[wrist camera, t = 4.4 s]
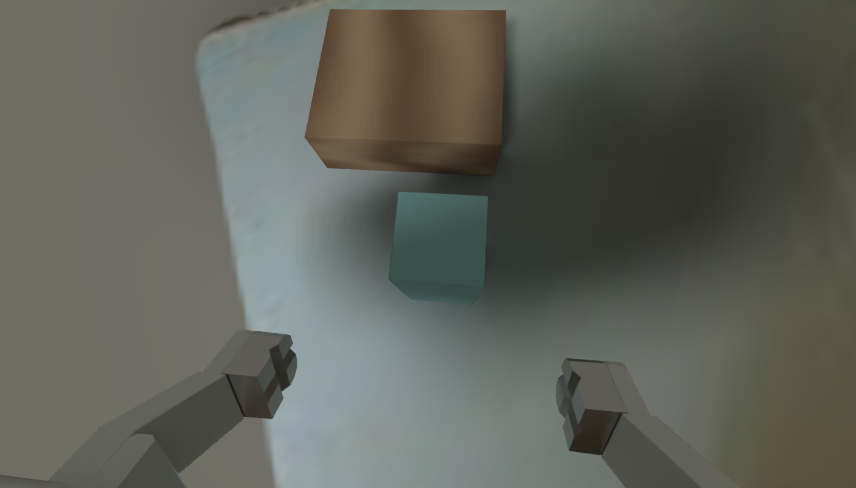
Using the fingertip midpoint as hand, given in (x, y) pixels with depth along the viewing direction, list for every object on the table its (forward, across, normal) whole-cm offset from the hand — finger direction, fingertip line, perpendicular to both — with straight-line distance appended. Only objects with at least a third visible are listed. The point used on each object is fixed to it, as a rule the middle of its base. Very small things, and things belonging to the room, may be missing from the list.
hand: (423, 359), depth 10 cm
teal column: (+12, 0, +5) cm, 12 cm away
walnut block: (+20, +3, -4) cm, 21 cm away
